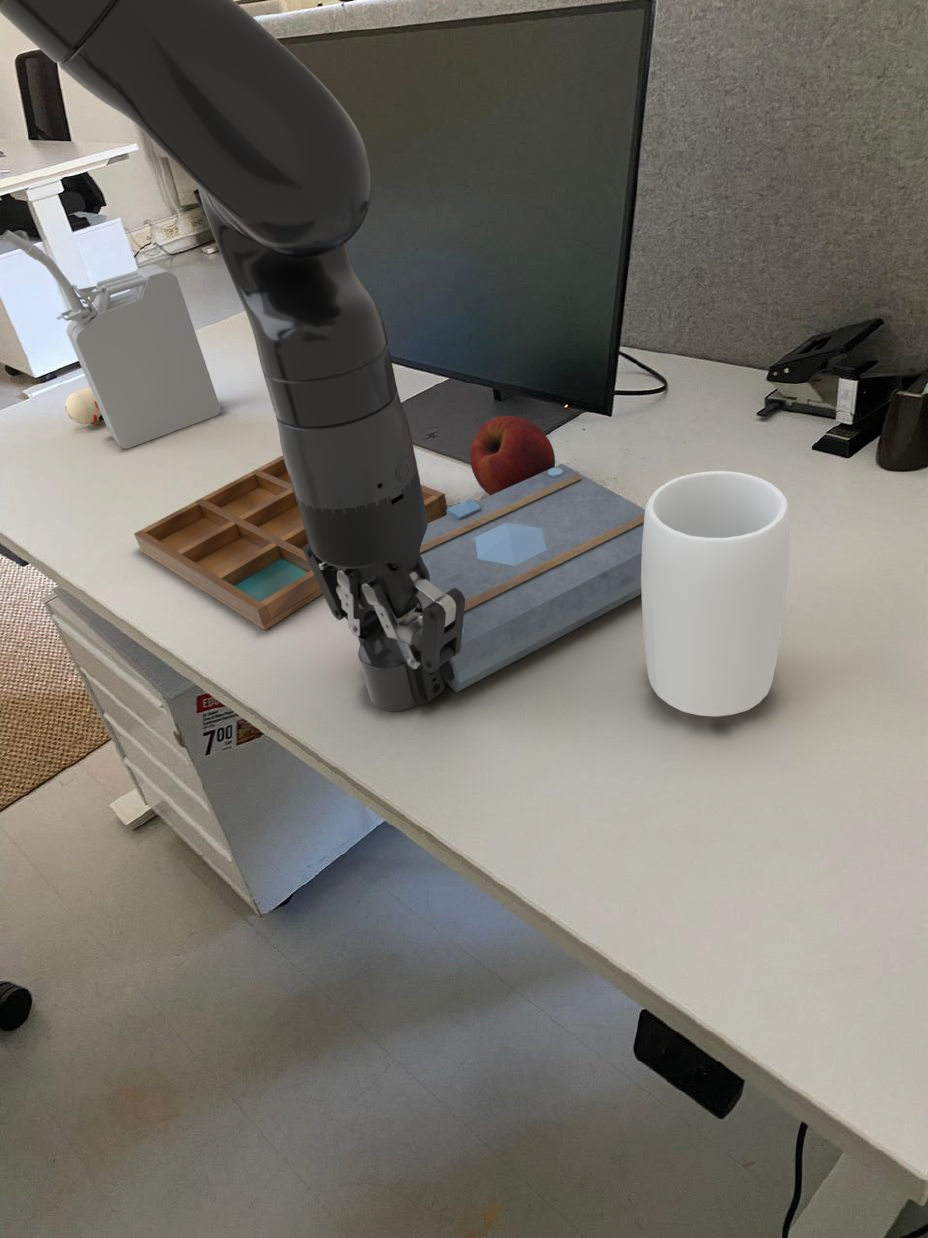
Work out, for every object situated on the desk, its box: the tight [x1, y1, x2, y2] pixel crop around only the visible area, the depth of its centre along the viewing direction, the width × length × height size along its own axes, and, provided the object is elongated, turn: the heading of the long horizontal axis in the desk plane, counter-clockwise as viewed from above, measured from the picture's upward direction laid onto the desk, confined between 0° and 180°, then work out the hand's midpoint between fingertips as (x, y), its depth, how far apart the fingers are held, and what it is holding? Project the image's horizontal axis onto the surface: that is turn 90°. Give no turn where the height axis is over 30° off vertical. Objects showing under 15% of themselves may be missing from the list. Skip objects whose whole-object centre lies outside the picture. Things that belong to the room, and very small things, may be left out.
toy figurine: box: [64, 386, 104, 425], centre depth 110 cm, size 8×4×12 cm
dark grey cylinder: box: [357, 630, 421, 712], centre depth 61 cm, size 4×4×4 cm
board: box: [133, 455, 448, 631], centre depth 81 cm, size 21×21×2 cm
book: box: [397, 463, 646, 693], centre depth 68 cm, size 21×16×5 cm
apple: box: [469, 415, 556, 496], centre depth 79 cm, size 7×8×8 cm
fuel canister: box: [1, 229, 222, 450], centre depth 98 cm, size 15×5×25 cm, turn 123°
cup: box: [640, 470, 790, 717], centre depth 54 cm, size 8×8×14 cm
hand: (405, 682), depth 62 cm, fingers closed on dark grey cylinder, 4 cm apart
